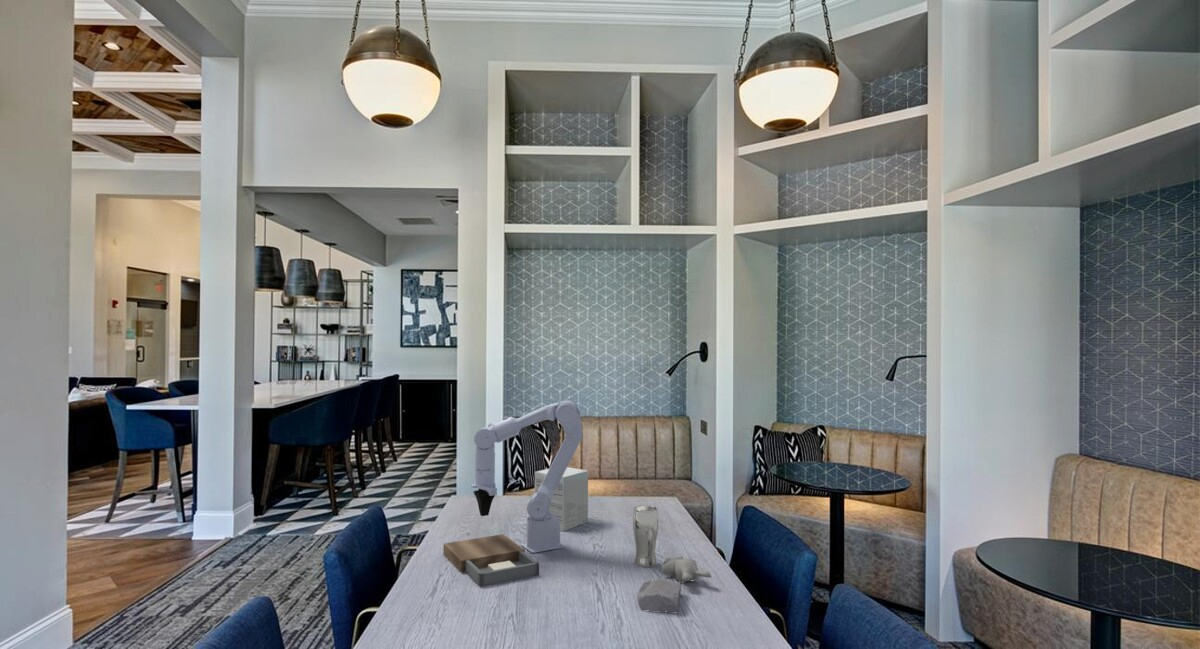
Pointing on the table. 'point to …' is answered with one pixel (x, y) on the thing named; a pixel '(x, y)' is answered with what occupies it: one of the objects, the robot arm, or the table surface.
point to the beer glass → (645, 534)
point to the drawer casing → (482, 551)
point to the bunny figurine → (683, 569)
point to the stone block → (659, 595)
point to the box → (503, 571)
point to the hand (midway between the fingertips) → (484, 515)
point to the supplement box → (568, 497)
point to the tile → (500, 565)
